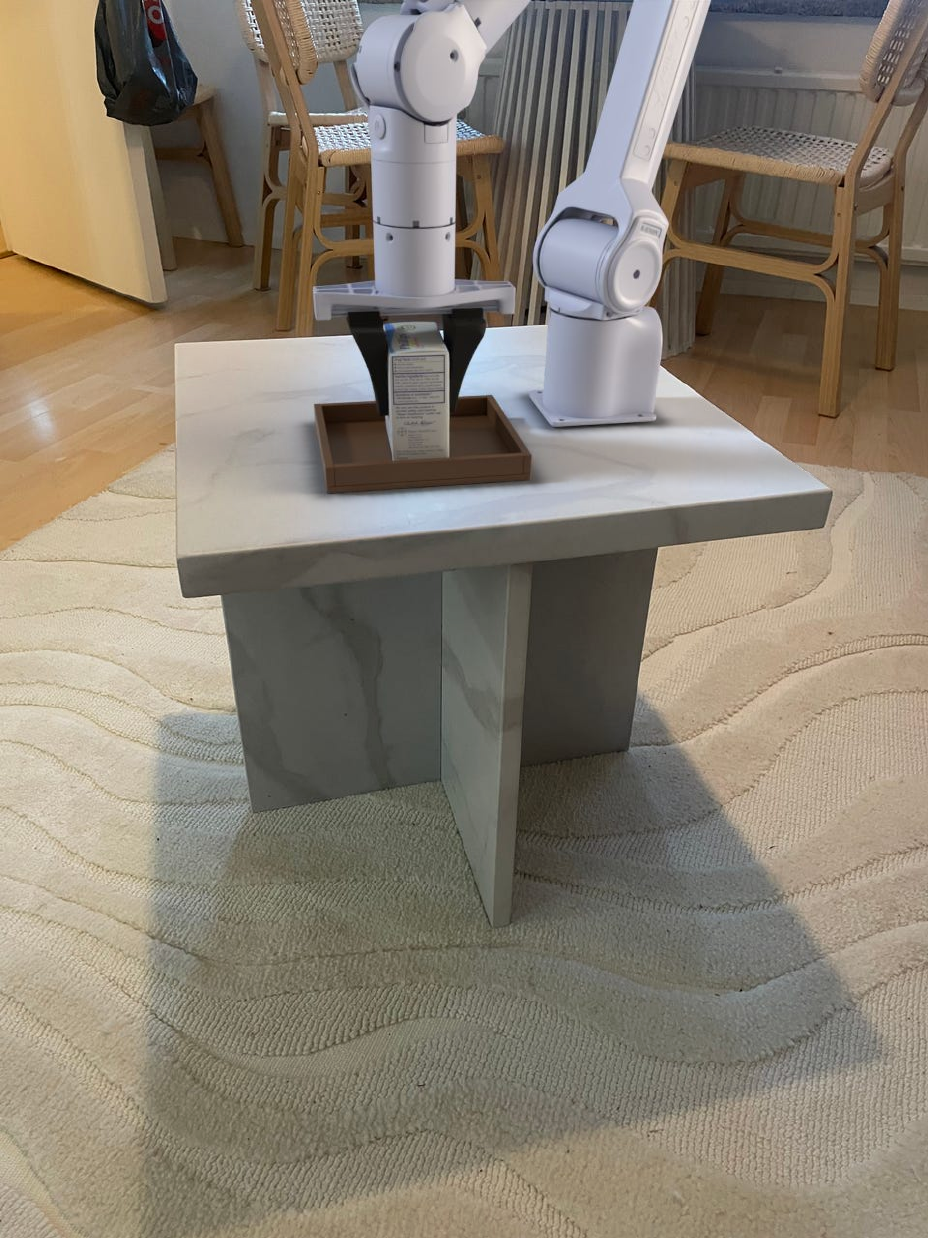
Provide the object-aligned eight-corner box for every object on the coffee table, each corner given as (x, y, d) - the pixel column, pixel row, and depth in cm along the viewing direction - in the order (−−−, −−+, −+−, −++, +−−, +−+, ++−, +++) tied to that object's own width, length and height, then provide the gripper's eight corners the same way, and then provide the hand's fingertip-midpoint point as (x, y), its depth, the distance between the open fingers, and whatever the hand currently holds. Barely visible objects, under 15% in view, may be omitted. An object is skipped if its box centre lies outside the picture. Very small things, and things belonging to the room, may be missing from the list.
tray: (491, 416, 79) (492, 394, 78) (530, 479, 69) (532, 455, 68) (315, 426, 77) (313, 403, 76) (327, 493, 66) (325, 468, 65)
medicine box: (449, 464, 70) (451, 350, 65) (391, 466, 69) (388, 352, 64) (437, 425, 76) (438, 320, 71) (384, 427, 75) (381, 321, 71)
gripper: (502, 209, 68) (495, 387, 75) (305, 212, 65) (318, 396, 73) (526, 227, 62) (516, 418, 70) (311, 231, 60) (324, 429, 67)
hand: (416, 409), depth 71 cm, fingers closed on medicine box, 5 cm apart
